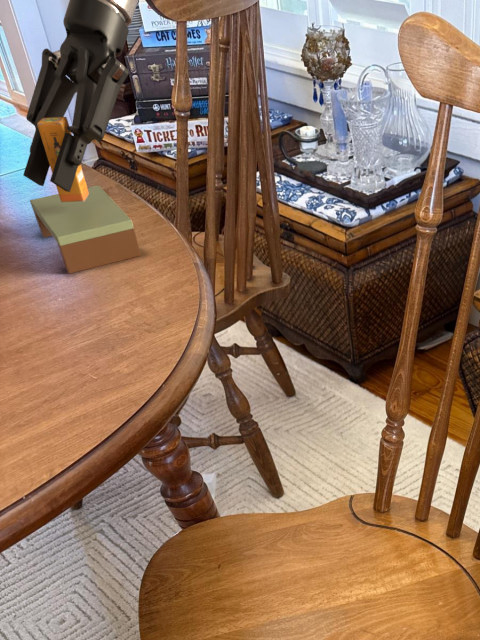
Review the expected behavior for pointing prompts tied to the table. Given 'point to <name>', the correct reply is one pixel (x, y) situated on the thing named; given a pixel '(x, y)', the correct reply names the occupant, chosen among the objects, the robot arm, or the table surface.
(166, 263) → the table surface
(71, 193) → the supplement box
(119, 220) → the shelf
